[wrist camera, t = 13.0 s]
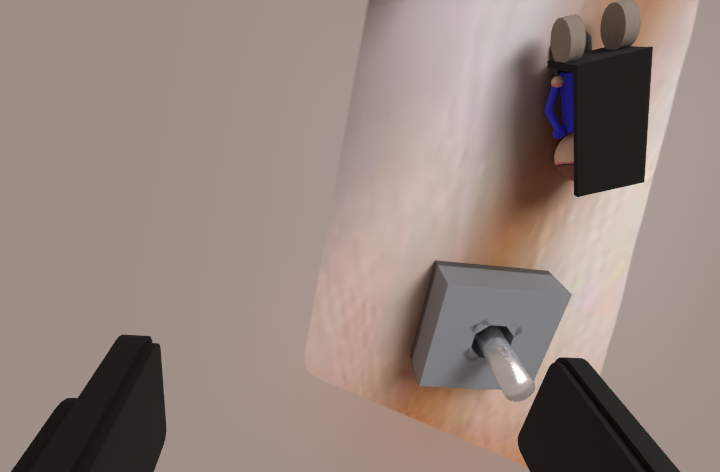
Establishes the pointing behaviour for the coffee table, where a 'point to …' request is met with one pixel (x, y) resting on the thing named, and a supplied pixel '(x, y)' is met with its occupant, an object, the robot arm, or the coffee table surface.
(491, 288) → the bore block
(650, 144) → the coffee table surface
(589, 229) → the coffee table surface
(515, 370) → the aluminium pin
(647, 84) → the figurine character
